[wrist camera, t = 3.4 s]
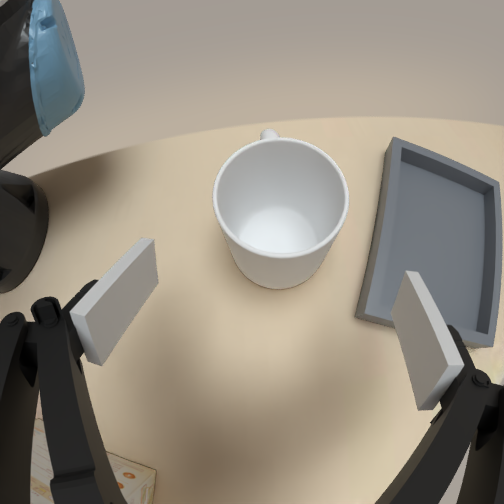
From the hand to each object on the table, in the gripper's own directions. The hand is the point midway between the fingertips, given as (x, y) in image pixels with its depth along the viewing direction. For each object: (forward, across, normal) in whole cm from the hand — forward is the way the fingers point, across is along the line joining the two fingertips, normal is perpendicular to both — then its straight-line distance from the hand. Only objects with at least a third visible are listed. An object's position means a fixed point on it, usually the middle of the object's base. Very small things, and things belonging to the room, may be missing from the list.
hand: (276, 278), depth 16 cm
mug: (+13, -1, -3) cm, 14 cm away
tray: (+14, +16, -3) cm, 21 cm away
